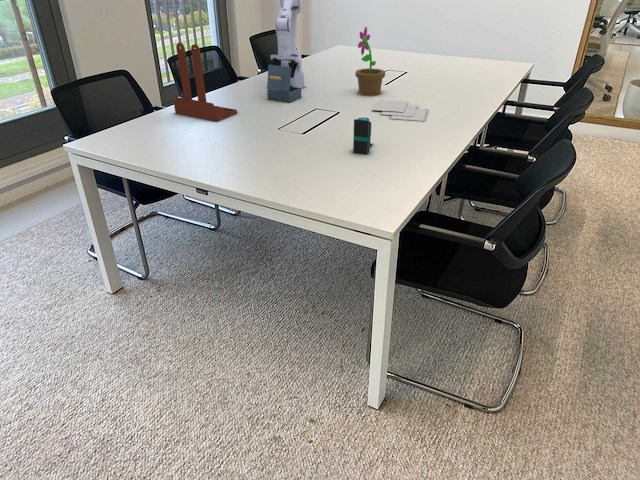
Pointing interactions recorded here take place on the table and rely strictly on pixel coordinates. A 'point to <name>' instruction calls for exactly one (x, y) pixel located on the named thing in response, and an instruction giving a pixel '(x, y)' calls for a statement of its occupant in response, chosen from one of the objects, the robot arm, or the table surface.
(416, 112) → the paper stack
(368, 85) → the flowerpot
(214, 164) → the table surface
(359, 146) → the black teal block
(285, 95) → the tin box
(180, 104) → the hanging shelf
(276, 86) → the lid
